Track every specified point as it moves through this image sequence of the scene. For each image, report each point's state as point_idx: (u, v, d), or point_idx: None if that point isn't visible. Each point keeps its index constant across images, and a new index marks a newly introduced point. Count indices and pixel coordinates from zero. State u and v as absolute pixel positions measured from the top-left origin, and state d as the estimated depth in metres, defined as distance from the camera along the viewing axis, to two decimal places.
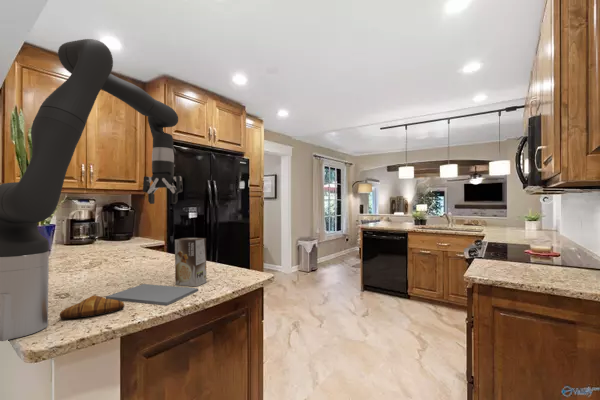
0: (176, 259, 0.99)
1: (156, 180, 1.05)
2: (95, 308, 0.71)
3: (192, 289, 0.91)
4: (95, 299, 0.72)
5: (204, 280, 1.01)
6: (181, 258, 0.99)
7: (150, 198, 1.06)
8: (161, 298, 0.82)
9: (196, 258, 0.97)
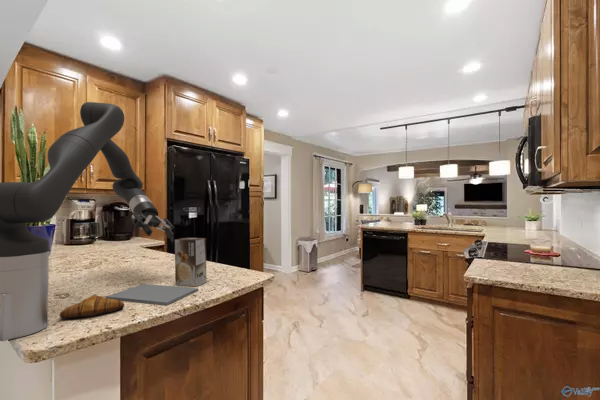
0: (176, 259, 0.99)
1: (150, 215, 1.04)
2: (95, 308, 0.71)
3: (192, 289, 0.91)
4: (95, 299, 0.72)
5: (204, 280, 1.01)
6: (181, 258, 0.99)
7: (149, 227, 0.98)
8: (161, 298, 0.82)
9: (196, 258, 0.97)
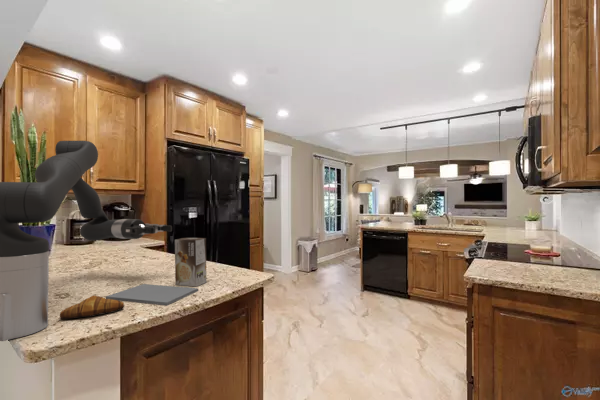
0: (176, 259, 0.99)
1: (141, 224, 1.06)
2: (95, 308, 0.71)
3: (192, 289, 0.91)
4: (95, 299, 0.72)
5: (204, 280, 1.01)
6: (181, 258, 0.99)
7: None
8: (161, 298, 0.82)
9: (196, 258, 0.97)
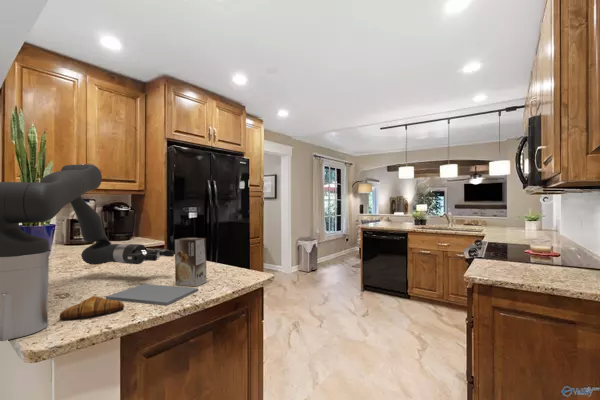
0: (176, 259, 0.99)
1: (143, 250, 1.06)
2: (95, 309, 0.71)
3: (192, 289, 0.91)
4: (95, 300, 0.72)
5: (204, 280, 1.01)
6: (181, 258, 0.99)
7: (151, 254, 1.01)
8: (161, 298, 0.82)
9: (196, 258, 0.97)
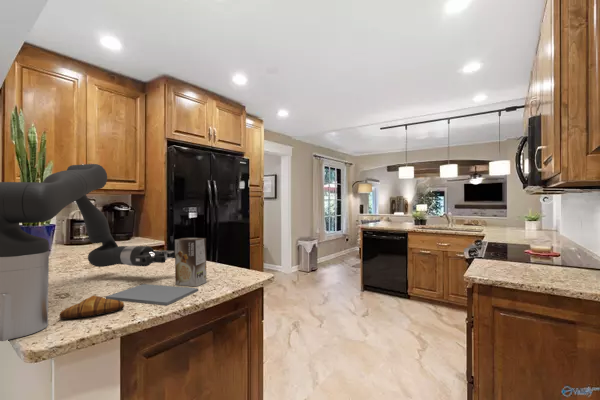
0: (176, 259, 0.99)
1: (150, 251, 1.04)
2: (95, 308, 0.71)
3: (192, 289, 0.91)
4: (95, 299, 0.72)
5: (204, 280, 1.01)
6: (181, 258, 0.99)
7: (160, 256, 1.00)
8: (161, 298, 0.82)
9: (196, 258, 0.97)
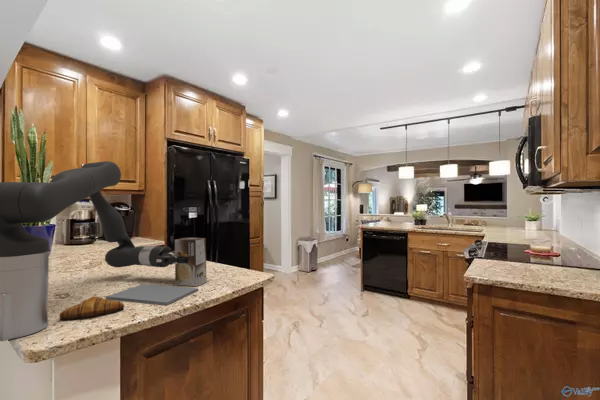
0: None
1: (170, 252, 1.02)
2: (95, 309, 0.70)
3: (192, 289, 0.91)
4: (95, 300, 0.72)
5: (204, 280, 1.01)
6: None
7: (182, 256, 0.98)
8: (161, 298, 0.82)
9: (196, 258, 0.97)
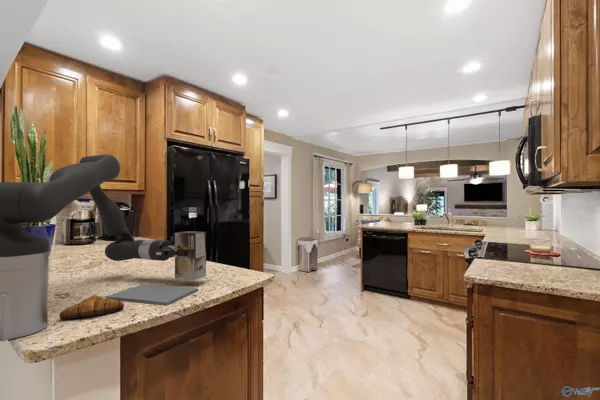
0: None
1: (170, 245, 1.02)
2: (95, 308, 0.70)
3: (192, 289, 0.91)
4: (95, 299, 0.72)
5: (204, 274, 1.01)
6: None
7: (182, 250, 0.98)
8: (161, 298, 0.82)
9: (196, 251, 0.97)
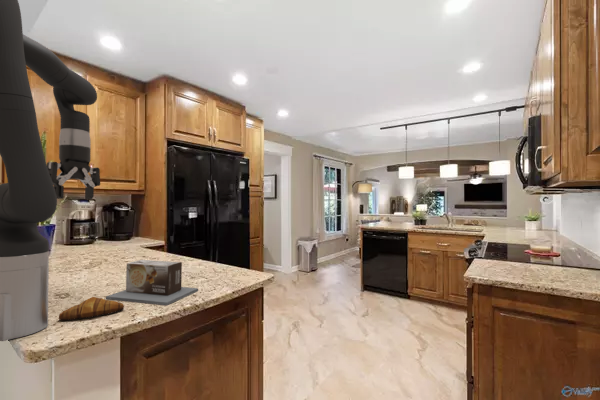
0: (149, 267, 0.87)
1: (75, 169, 0.85)
2: (94, 310, 0.70)
3: (192, 289, 0.91)
4: (95, 301, 0.71)
5: None
6: (149, 275, 0.86)
7: (62, 191, 0.82)
8: (161, 298, 0.82)
9: (151, 293, 0.87)
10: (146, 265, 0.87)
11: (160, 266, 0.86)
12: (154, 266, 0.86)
